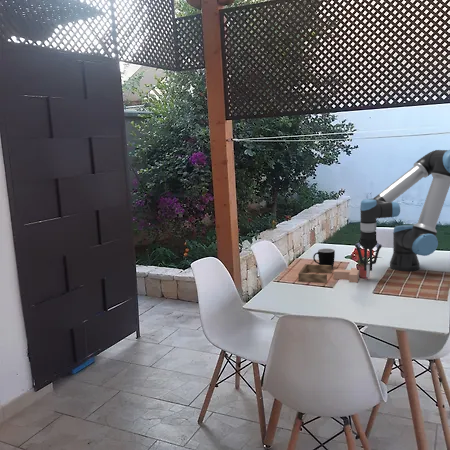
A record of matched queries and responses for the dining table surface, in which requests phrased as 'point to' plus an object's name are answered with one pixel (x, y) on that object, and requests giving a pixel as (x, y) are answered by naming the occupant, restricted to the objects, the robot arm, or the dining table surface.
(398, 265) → the robot arm
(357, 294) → the dining table surface
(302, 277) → the pocket
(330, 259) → the mug
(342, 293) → the dining table surface
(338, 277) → the block
